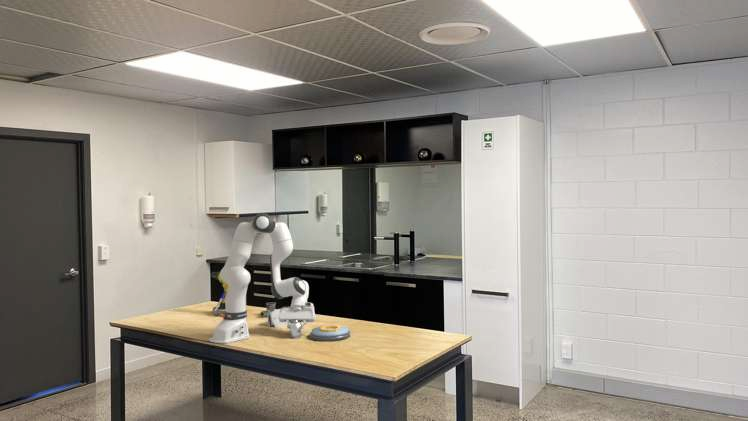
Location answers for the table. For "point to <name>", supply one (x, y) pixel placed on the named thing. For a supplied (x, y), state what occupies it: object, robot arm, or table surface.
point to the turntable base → (329, 338)
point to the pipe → (268, 309)
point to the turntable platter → (329, 331)
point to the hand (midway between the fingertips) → (295, 328)
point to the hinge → (275, 318)
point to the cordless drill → (221, 304)
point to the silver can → (295, 329)
